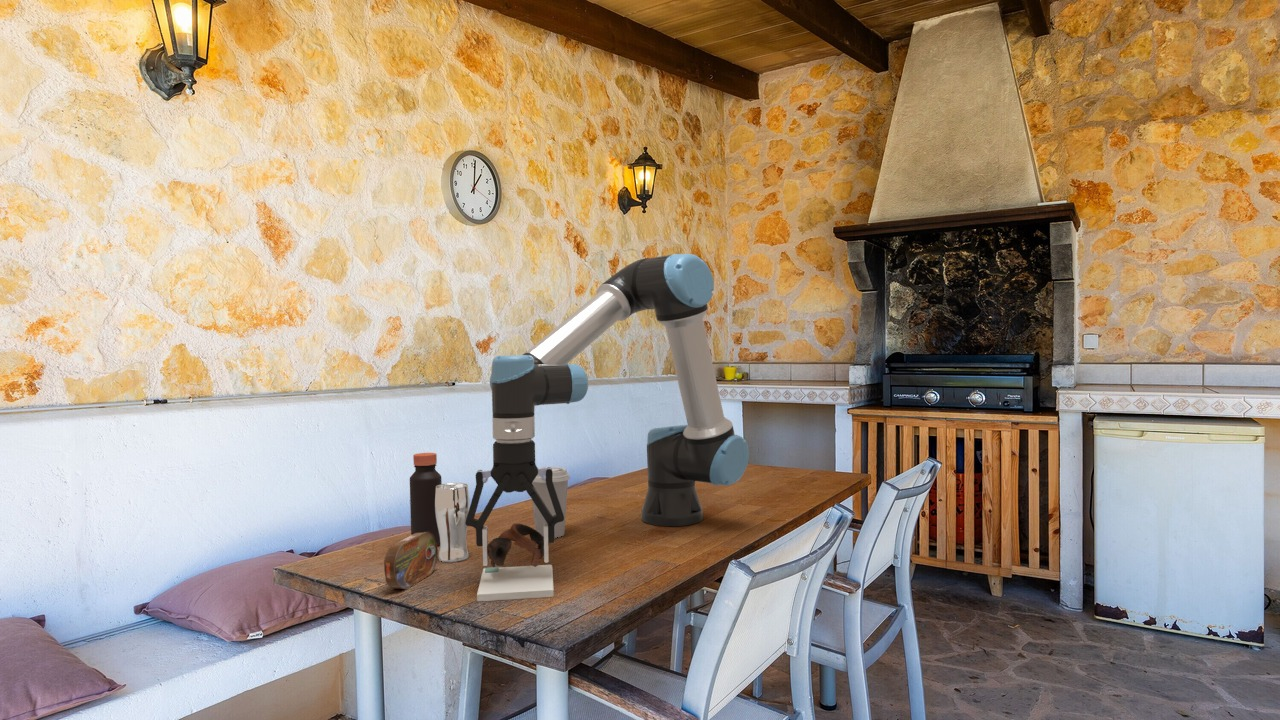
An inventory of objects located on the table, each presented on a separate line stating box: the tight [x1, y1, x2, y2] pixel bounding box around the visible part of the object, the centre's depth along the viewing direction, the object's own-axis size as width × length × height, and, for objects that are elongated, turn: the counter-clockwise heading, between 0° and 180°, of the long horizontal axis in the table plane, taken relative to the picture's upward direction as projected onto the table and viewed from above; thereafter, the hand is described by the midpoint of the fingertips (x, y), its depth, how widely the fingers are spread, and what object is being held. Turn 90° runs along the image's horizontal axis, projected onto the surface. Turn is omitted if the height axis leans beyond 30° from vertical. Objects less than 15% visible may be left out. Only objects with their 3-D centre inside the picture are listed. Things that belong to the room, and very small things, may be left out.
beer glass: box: [435, 482, 471, 563], centre depth 154 cm, size 7×7×15 cm
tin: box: [383, 532, 439, 590], centre depth 139 cm, size 15×3×8 cm, turn 166°
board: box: [476, 564, 555, 602], centre depth 136 cm, size 13×15×2 cm
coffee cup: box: [531, 466, 571, 539], centre depth 171 cm, size 10×10×15 cm
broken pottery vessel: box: [487, 523, 544, 567], centre depth 138 cm, size 12×10×8 cm
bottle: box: [409, 452, 443, 547], centre depth 165 cm, size 7×7×20 cm
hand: (516, 562), depth 136 cm, fingers closed on broken pottery vessel, 10 cm apart
